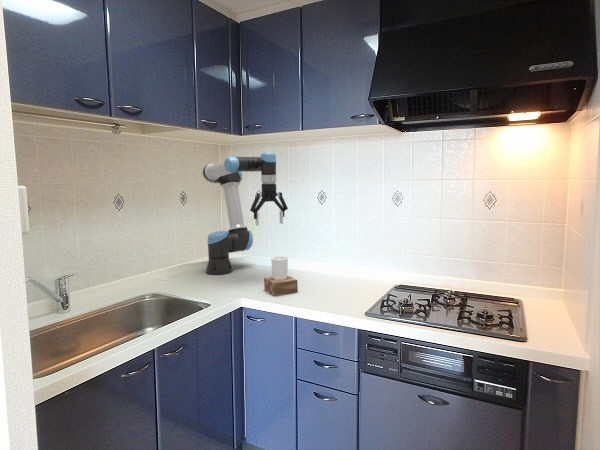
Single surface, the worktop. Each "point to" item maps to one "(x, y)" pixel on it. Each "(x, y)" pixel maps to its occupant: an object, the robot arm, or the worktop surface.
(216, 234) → the robot arm
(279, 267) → the white cup
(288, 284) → the walnut box
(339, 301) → the worktop surface
